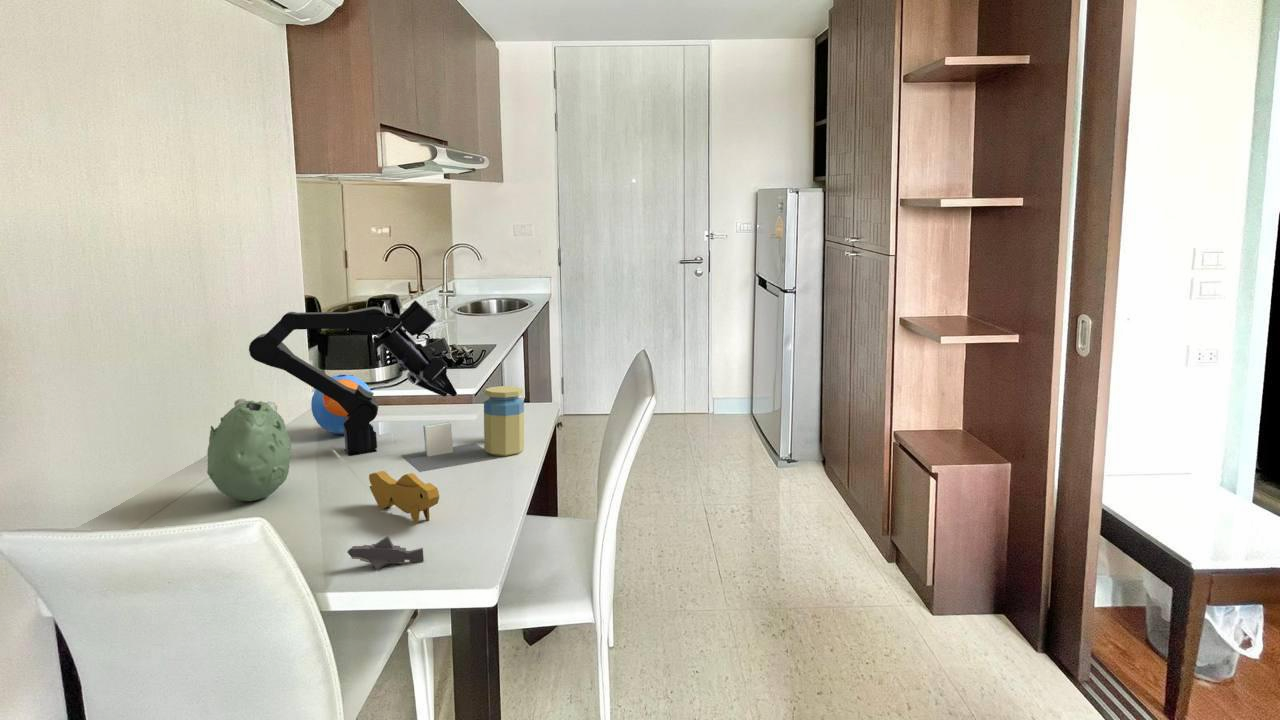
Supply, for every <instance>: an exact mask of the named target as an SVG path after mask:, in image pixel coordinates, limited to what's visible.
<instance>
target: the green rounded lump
mask: <svg viewBox="0 0 1280 720" xmlns="http://www.w3.org/2000/svg"><path fill="white" fill-rule="evenodd" d="M208 439H209V440H208V442H209V443H208V447H207V453H206V455H207V471H206V473H207V475H208V477H209V478H210V480H211V481H212V483H213V484H214V486H215V487H216V488H217V489H218V491H220V492H221V494H224V495H225V496H228V497H229V498H230V499H233V500H237V501H240V502H241V501H242V502H255V501H258V500H262V499H264V498H267V497H269V496H270V495H272V494H273V493H274V492H275V491H276V490H278V488H279V487H280V486H282V485H283V483H285V481H286V480H287V478H288V476H289V471H290V460H291V458H292V454H291V450H292V448H291V447H292V442H291V439H290V436H289V434H288V430H287V428H286V424H285V420H284V419H283V417H282V416H281V415H280V413H278V405H277V404H276V403H275V402H273V401H267V402H263V401H261V400H260V401H254V400H246V399H245V398H240V399H237V400H235V401H234V407H232V408H230V410H229V411H228V412H226V414H224V415H223V416H222V417H220V423H218V426H217V427H215V428H214V426H213V425H210V431H209V438H208Z"/></svg>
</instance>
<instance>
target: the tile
mask: <svg viewBox="0 0 1280 720" xmlns="http://www.w3.org/2000/svg"><path fill="white" fill-rule="evenodd" d="M423 437H424V451H425V453H426V455H427V456H434V455H440V454H446V453H452V452H453V447H454V446H453V431H452V423H451V422H449V421H444V422H438V423H432V424H424V425H423Z"/></svg>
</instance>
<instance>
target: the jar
mask: <svg viewBox="0 0 1280 720" xmlns="http://www.w3.org/2000/svg"><path fill="white" fill-rule="evenodd" d="M523 391H524V389H523V388H521V387H518V386H506V385H501V386H491V387H490V386H489V387H487V388H486V389H484V395H485V396H487V397H489V398H488V399H487V400H485V401H483V434H484V435H483V444H484V445H483V447H484V448H483V449H484V451H486V452H488V453H490V454H492V455H494V456H496V457H509V456H515V455H518V454H520V453H521V452H522V451H523V450H525V401H524V400H523V399H521V398H520V396H521V395H523V394H524V392H523Z"/></svg>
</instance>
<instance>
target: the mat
mask: <svg viewBox="0 0 1280 720" xmlns="http://www.w3.org/2000/svg"><path fill="white" fill-rule="evenodd" d="M400 456H401V457H402V458H403V459H404V460H405V461H406V462H408V463H409V464H410V465H411V466H412V467H414V469H415V470H417V471H419V473H424V472H427V471H434V470H438V469H444V468H451V467H455V466H462V465H468V464H473V463H479V462H486V461H490V460H496V459H498V456H494V455H492V454H490V453H488V452H486V451H484V448H483V447H482V446H480V445H478V444H477V443H475V442H472V443H467V444H461V445H456V446H453V452H452V453H446V454H440V455H434V456H427V455H426V453H425V450H424V451H419V452H418V451H417V452H412V453H406V454H400Z"/></svg>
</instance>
